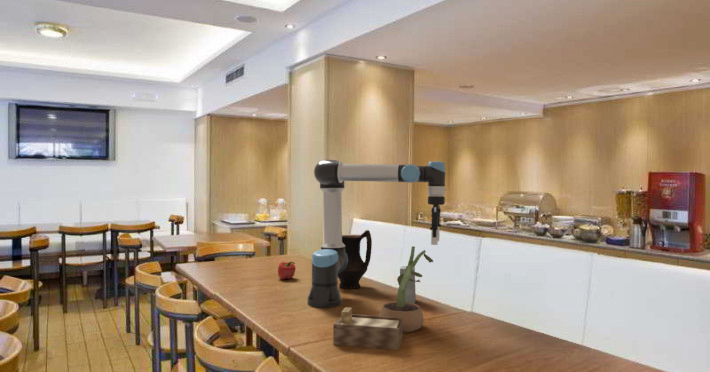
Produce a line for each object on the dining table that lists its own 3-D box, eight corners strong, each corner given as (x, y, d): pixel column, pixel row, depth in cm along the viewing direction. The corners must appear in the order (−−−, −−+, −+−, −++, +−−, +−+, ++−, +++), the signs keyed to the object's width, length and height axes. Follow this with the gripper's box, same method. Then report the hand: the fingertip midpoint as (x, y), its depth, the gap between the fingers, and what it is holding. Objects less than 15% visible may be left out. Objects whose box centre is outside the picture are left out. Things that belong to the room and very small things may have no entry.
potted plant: (408, 337, 170) (409, 253, 169) (369, 326, 182) (370, 247, 182) (442, 324, 187) (443, 247, 186) (405, 314, 199) (406, 242, 198)
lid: (339, 327, 163) (339, 313, 163) (346, 318, 173) (346, 305, 173) (395, 331, 159) (395, 317, 159) (399, 322, 169) (399, 309, 169)
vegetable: (300, 278, 267) (300, 260, 267) (288, 281, 258) (288, 263, 258) (285, 276, 273) (285, 258, 273) (273, 279, 264) (273, 261, 264)
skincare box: (414, 304, 215) (415, 269, 215) (398, 303, 217) (399, 268, 217) (416, 299, 224) (416, 265, 223) (400, 298, 225) (401, 265, 225)
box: (333, 344, 162) (333, 323, 162) (342, 332, 175) (342, 313, 175) (398, 350, 157) (398, 328, 157) (402, 337, 170) (402, 317, 170)
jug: (325, 289, 242) (325, 229, 242) (339, 281, 260) (340, 226, 259) (364, 293, 235) (364, 232, 234) (376, 285, 252) (377, 228, 251)
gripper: (443, 196, 203) (442, 246, 203) (445, 195, 227) (445, 239, 228) (425, 196, 205) (424, 246, 205) (429, 194, 229) (429, 239, 229)
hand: (435, 242), depth 216 cm, fingers open, 13 cm apart
